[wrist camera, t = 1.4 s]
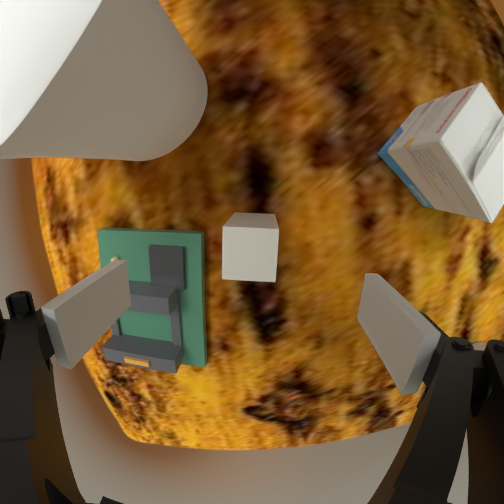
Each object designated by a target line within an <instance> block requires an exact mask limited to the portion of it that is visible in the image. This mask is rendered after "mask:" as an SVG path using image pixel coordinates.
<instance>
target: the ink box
mask: <svg viewBox="0 0 504 504" xmlns="http://www.w3.org/2000/svg"><path fill="white" fill-rule="evenodd" d="M378 155H379V156H380V157H381V158H382V159H383V160H384V161H385V163H386V164H387V165H388V166H389V167H390V168H391V169H392V170H393V171H394V172H395V173H396V175H397V176H398V177H399V178H400V179H401V180H402V182H403V183H404V184H405V185H406V186H407V188H408V189H409V190H410V191H411V193H412V194H413V195H414V196H415V197H416V199H417V200H418V201H419V202H420V203H421V205H422V206H423V207H427V208H432V209H436V210H441V211H445V212H449V213H454V214H458V215H462V216H466V217H470V218H474V219H478V220H482V221H486V222H489V223H492V222H493V221H494V219H495V218H496V216H497V214H498V213H499V211H500V210H501V208H502V206H503V205H504V116H503V114H502V112H501V111H500V109H499V107H498V106H497V104H496V103H495V101H494V100H493V98H492V97H491V95H490V93H489V92H488V90H487V89H486V87H485V86H484V84H483V83H482V82H480V83H478V84H475V85H472V86H469V87H466V88H463V89H461V90H458V91H455V92H452V93H450V94H447V95H444V96H442V97H439V98H436V99H434V100H431V101H429V102H426V103H424V104H421V105H419V106H416V108H415V109H414V110H413V111H412V112H411V114H410V115H409V116H408V117H407V118H406V120H405V121H404V122H403V123H402V124H401V126H400V127H399V128H398V129H397V130H396V132H395V133H394V134H393V135H392V136H391V138H390V139H389V140H388V141H387V142H386V143H385V145H384V146H383V147H382V148H381V149H380V151H379V152H378Z"/></svg>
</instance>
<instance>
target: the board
mask: <svg viewBox="0 0 504 504" xmlns="http://www.w3.org/2000/svg"><path fill="white" fill-rule="evenodd" d="M98 242H99V253H100V262H101V268H102V267H104V266H105V265H107V264H109V263H110V262H112V261H114V260H115V259H117V260H127V269H128V279H129V288H130V297H131V306H130V307H129V308H128V309H127V310H126V311H125V312H124V313H123V314H122V315H121V316H120V317H119V318H118V319H117V320H116V321H115V323H114V324H113V325H112V326H111V330H112V337H111V338H110V339H109V340H108V341H107V342H106V344H105V345H104V346H103V347H102V348H103V352H104V355H105V359H106V360H110V361H114V362H118V363H123V364H127V365H132V366H137V367H142V368H147V369H153V370H158V371H164V372H171V373H177V371H178V368H179V366H180V364H185V365H192V366H201V367H205V366H206V363H207V341H206V314H205V260H204V231H197V230H170V229H139V228H102V229H99V230H98Z"/></svg>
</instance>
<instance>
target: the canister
mask: <svg viewBox="0 0 504 504" xmlns="http://www.w3.org/2000/svg"><path fill="white" fill-rule="evenodd" d="M207 95H208V88H207V81H206V77H205V74H204V72H203V70H202V68H201V66H200V65H199V63H198V61H197V60H196V58H195V57H194V55H193V53H192V52H191V50H190V49H189V47H188V45H187V44H186V42H185V41H184V39H183V38H182V36H181V35H180V33H179V32H178V30H177V28H176V27H175V25H174V24H173V22H172V21H171V19H170V18H169V16H168V15H167V13H166V12H165V10H164V9H163V8H162V6H161V5H160V3H159V2H158V0H0V159H8V158H93V159H113V160H128V161H147V160H152V159H156V158H159V157H161V156H164V155H166V154H168V153H170V152H171V151H173V150H174V149H176V148H177V147H179V146H180V145H181V144H182V143H183V142H184V141H185V140H186V139H187V138H188V137H189V136H190V135H191V134H192V133H193V131H194V130H195V128H196V127H197V125H198V124H199V122H200V120H201V118H202V115H203V113H204V110H205V107H206V102H207Z"/></svg>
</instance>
